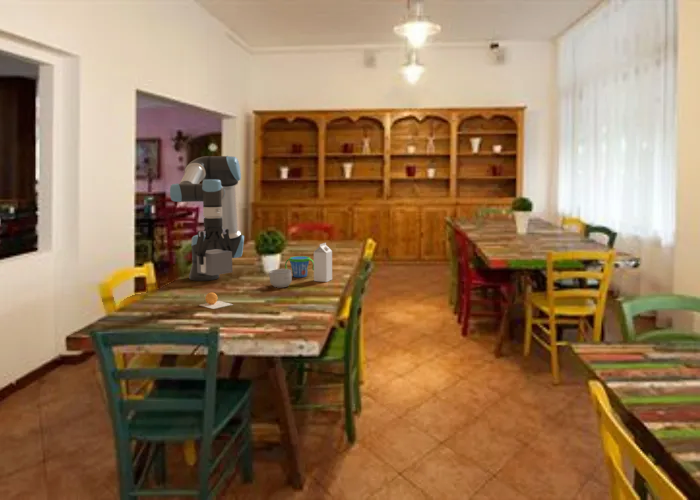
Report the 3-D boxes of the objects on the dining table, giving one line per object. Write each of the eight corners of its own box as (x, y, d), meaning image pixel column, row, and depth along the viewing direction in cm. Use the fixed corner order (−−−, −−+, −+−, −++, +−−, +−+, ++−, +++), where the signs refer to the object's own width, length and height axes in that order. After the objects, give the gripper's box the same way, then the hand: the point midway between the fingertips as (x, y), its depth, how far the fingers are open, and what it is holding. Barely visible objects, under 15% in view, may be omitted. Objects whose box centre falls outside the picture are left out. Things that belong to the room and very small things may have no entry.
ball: (210, 297, 241) (208, 307, 243) (221, 296, 244) (218, 305, 246) (204, 290, 243) (202, 300, 245) (214, 289, 247) (212, 298, 249)
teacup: (287, 289, 275) (287, 272, 274) (266, 288, 277) (265, 271, 276) (296, 283, 289) (296, 267, 287) (275, 282, 291) (275, 267, 290)
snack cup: (282, 277, 304) (282, 258, 303) (289, 274, 314) (288, 255, 313) (310, 279, 300) (310, 259, 299) (316, 275, 310) (316, 256, 309)
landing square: (198, 305, 243) (198, 304, 243) (218, 301, 250) (218, 300, 250) (213, 309, 236) (213, 308, 236) (233, 304, 244) (233, 304, 244)
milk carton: (313, 281, 294) (313, 244, 292) (319, 278, 301) (319, 242, 298) (326, 282, 292) (326, 244, 289) (332, 279, 298) (332, 243, 295)
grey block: (197, 272, 241) (196, 251, 240) (217, 269, 249) (217, 249, 247) (212, 275, 234) (211, 254, 233) (232, 272, 242) (231, 251, 241)
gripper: (194, 219, 227) (196, 275, 230) (240, 216, 244) (242, 268, 247) (183, 218, 232) (185, 273, 235) (229, 215, 249) (231, 266, 252)
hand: (214, 270), depth 241 cm, fingers closed on grey block, 10 cm apart
